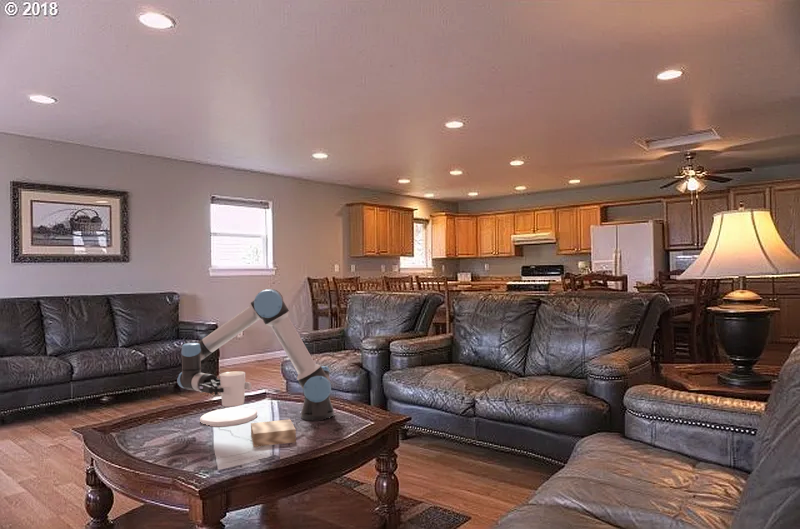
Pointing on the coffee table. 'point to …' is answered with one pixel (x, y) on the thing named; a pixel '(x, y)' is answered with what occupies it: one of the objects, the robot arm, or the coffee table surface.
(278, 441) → the maple riser
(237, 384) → the candle holder
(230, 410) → the decorative plate
